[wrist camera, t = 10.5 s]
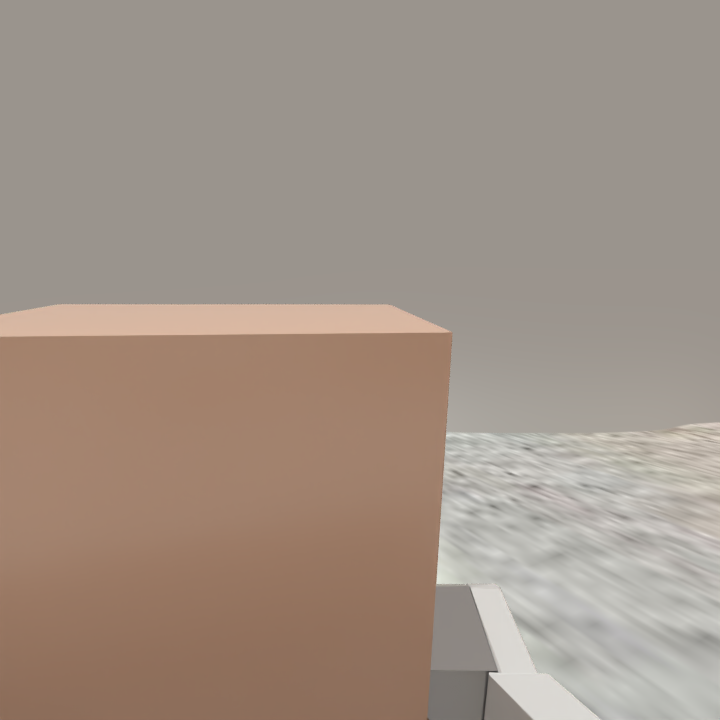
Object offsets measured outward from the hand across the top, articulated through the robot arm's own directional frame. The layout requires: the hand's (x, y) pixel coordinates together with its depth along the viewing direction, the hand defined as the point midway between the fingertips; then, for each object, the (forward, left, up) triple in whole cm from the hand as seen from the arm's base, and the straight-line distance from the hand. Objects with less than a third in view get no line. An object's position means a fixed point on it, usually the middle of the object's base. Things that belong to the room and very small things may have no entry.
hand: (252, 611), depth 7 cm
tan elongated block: (0, +1, -6) cm, 6 cm away
